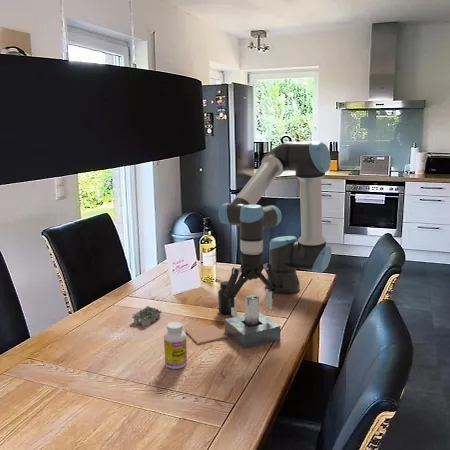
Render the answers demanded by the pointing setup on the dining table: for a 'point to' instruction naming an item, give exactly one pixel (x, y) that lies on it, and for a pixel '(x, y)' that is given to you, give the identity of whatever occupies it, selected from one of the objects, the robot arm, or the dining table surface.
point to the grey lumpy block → (150, 317)
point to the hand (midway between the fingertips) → (251, 312)
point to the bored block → (252, 331)
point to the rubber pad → (206, 334)
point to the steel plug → (251, 311)
